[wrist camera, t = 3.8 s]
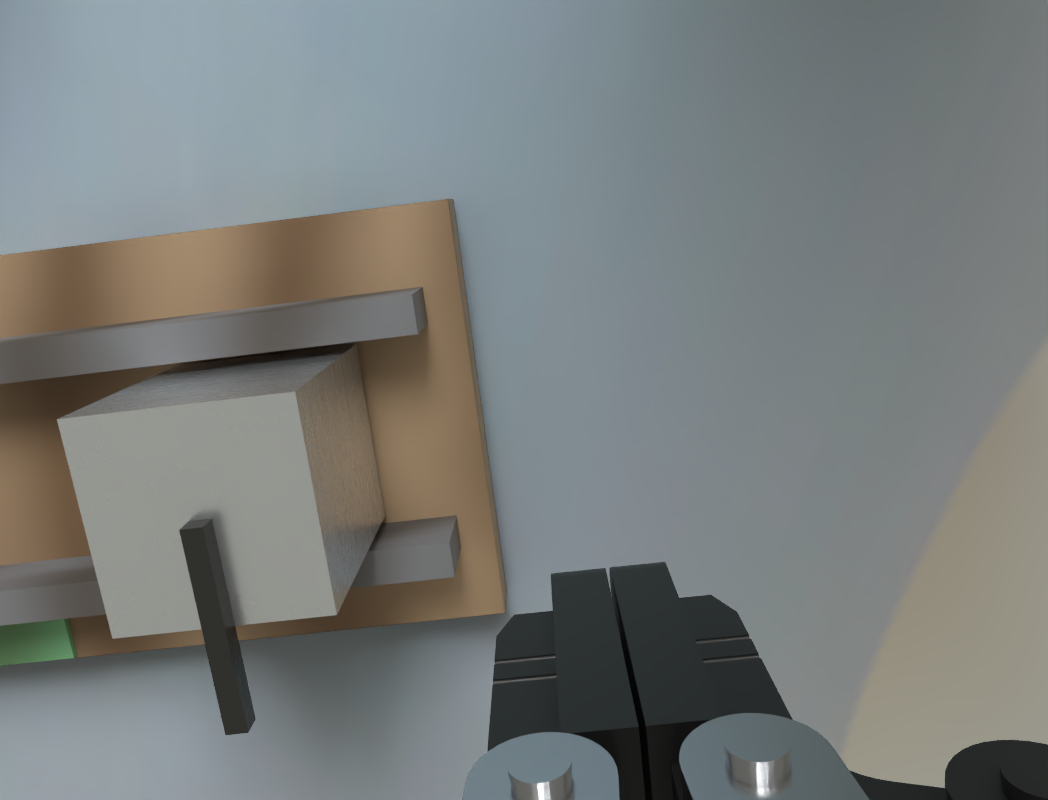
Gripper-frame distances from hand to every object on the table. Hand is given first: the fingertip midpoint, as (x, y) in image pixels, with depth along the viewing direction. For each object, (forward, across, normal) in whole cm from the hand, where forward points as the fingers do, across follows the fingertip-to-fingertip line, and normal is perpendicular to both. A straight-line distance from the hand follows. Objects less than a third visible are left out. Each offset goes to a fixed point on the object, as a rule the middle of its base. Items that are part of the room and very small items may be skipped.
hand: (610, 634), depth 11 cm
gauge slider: (+13, +8, +1) cm, 15 cm away
